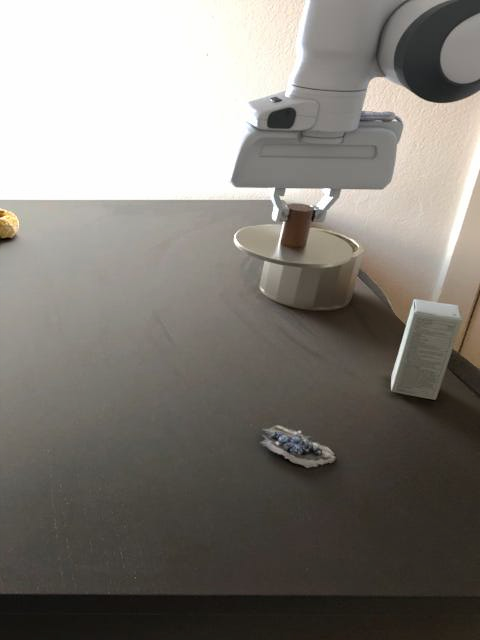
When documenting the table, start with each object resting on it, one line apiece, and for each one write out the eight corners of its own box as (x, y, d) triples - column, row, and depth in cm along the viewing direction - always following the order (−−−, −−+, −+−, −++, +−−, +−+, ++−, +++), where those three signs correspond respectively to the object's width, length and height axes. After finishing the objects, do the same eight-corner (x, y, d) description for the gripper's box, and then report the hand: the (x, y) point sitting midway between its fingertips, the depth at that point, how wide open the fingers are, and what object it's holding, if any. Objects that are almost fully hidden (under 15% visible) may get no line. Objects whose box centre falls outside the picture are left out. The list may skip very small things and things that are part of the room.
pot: (329, 276, 124) (342, 227, 119) (365, 311, 112) (380, 258, 108) (248, 275, 123) (258, 226, 119) (275, 310, 112) (286, 257, 107)
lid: (324, 232, 105) (334, 191, 102) (370, 273, 92) (383, 227, 89) (220, 231, 105) (227, 189, 102) (251, 271, 92) (261, 225, 89)
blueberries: (261, 424, 85) (264, 410, 84) (336, 440, 82) (340, 426, 81) (256, 457, 79) (259, 443, 78) (336, 475, 77) (340, 461, 76)
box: (434, 385, 93) (462, 305, 88) (436, 401, 90) (465, 319, 84) (388, 375, 95) (413, 297, 90) (388, 391, 92) (414, 311, 86)
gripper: (394, 106, 92) (366, 214, 99) (231, 104, 92) (213, 211, 99) (420, 117, 87) (387, 230, 94) (246, 114, 87) (226, 227, 93)
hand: (297, 220), depth 96 cm, fingers closed on lid, 3 cm apart
